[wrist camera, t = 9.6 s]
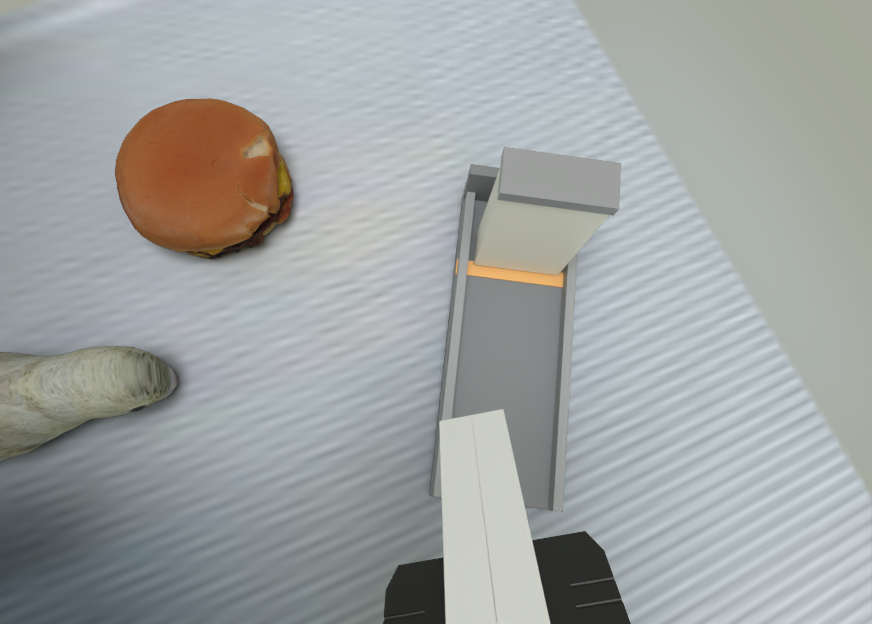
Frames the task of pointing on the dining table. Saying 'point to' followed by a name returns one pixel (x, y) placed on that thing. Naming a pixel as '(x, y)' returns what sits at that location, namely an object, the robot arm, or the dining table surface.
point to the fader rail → (509, 354)
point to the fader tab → (544, 210)
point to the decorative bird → (74, 391)
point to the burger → (203, 178)
